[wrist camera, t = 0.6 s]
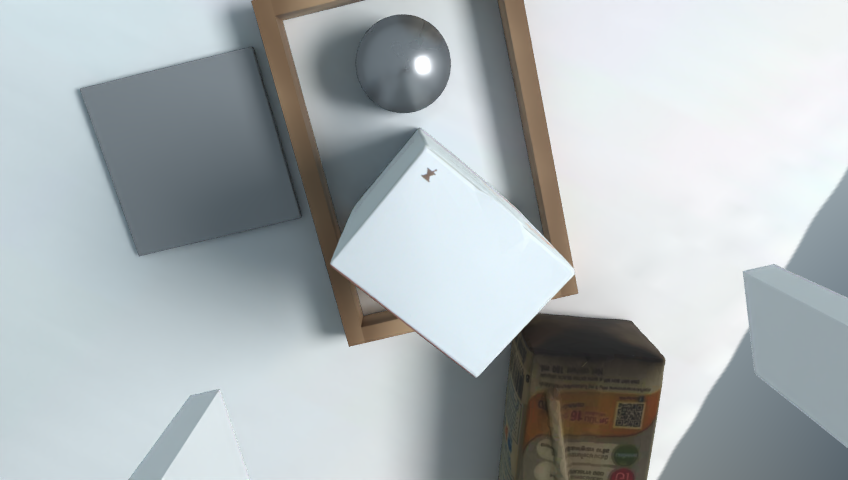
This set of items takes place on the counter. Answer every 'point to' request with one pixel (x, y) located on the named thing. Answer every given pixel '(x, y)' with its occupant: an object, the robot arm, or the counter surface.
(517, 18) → the frame
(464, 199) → the small box
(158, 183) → the mat
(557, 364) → the beverage carton
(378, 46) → the tin
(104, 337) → the counter surface
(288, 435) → the counter surface
